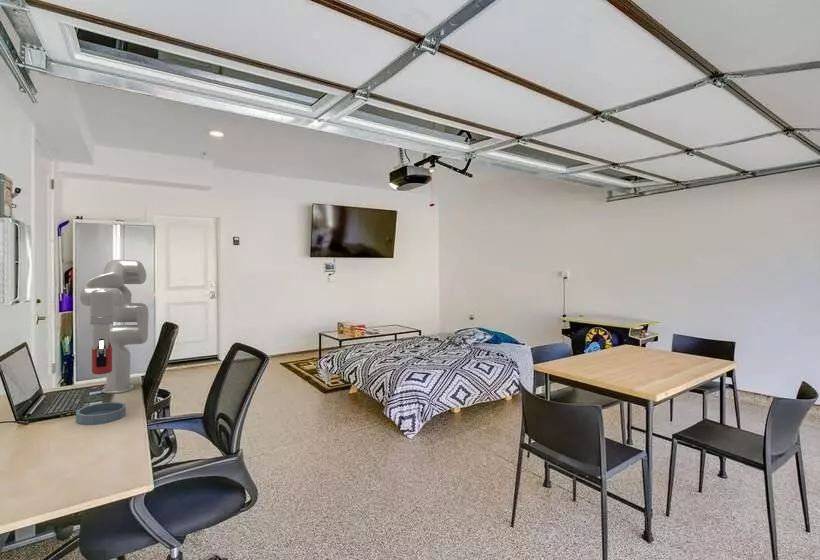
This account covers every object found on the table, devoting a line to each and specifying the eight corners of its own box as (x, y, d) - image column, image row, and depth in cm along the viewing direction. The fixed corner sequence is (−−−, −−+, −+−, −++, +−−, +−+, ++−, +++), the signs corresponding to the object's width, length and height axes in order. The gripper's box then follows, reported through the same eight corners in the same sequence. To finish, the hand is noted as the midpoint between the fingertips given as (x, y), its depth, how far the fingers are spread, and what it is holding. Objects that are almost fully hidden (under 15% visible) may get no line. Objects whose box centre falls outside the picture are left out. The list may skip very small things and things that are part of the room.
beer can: (116, 371, 173) (116, 341, 172) (102, 375, 166) (102, 345, 166) (101, 370, 174) (101, 341, 173) (87, 374, 167) (87, 344, 166)
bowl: (77, 414, 172) (77, 406, 172) (124, 408, 181) (125, 400, 181) (74, 427, 159) (74, 418, 159) (126, 419, 168) (126, 411, 168)
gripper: (91, 318, 174) (90, 361, 175) (89, 323, 160) (88, 370, 160) (113, 317, 178) (113, 359, 179) (113, 322, 164) (113, 368, 165)
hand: (101, 364), depth 170 cm, fingers closed on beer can, 6 cm apart
